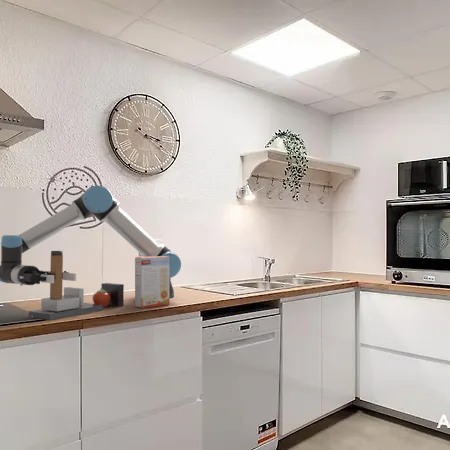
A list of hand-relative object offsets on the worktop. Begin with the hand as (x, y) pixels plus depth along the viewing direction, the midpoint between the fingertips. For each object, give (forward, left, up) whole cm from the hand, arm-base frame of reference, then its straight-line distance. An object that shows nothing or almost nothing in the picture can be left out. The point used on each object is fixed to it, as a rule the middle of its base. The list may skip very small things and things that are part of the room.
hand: (64, 278), depth 160 cm
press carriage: (+2, -5, -12) cm, 13 cm away
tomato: (-7, -22, -14) cm, 27 cm away
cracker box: (-28, -26, -14) cm, 41 cm away
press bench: (-2, -12, -14) cm, 19 cm away
